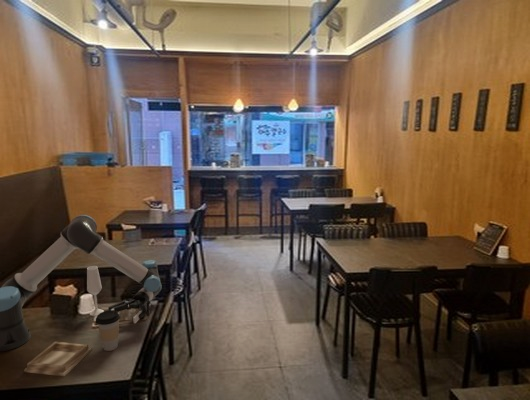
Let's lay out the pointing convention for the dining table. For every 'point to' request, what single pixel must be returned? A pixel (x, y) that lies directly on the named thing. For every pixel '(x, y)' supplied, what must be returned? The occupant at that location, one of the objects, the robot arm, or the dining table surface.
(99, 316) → the coffee cup
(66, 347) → the wooden tray
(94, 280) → the champagne flute
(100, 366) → the dining table surface
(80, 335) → the dining table surface
